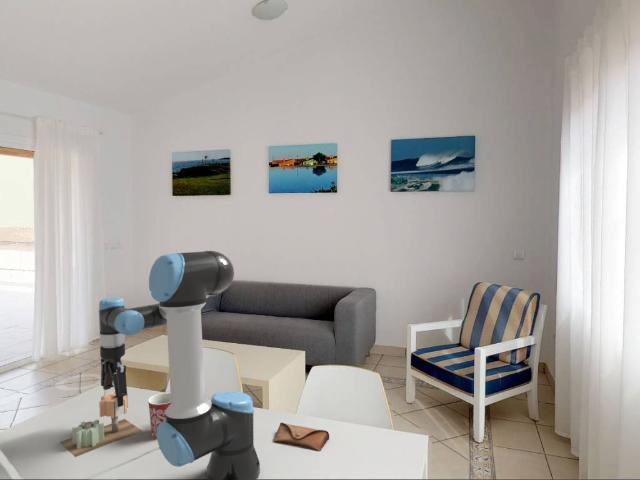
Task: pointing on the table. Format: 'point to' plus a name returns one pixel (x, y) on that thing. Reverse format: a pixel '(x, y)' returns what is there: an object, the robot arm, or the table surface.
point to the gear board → (110, 435)
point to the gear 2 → (110, 405)
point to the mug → (158, 410)
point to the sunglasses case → (301, 436)
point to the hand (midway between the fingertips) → (114, 411)
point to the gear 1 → (87, 434)
